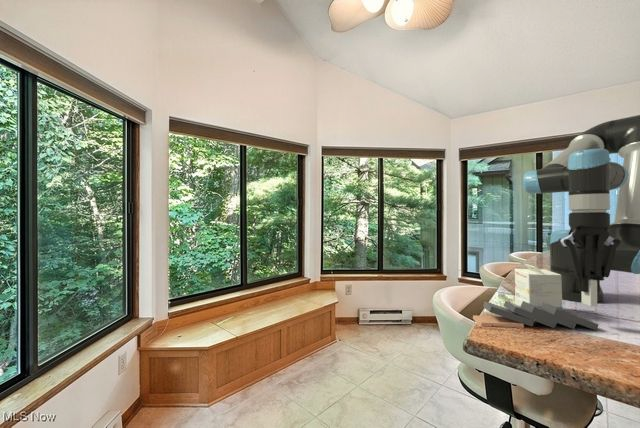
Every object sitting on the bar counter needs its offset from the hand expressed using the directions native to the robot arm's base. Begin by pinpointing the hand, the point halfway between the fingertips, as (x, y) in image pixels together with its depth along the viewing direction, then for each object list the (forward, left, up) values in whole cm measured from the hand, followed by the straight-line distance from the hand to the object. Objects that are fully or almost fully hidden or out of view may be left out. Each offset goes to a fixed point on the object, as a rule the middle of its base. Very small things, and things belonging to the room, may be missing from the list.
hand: (589, 304), depth 70 cm
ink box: (+2, -12, -6) cm, 13 cm away
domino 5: (+1, 0, -5) cm, 5 cm away
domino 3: (+9, -3, -5) cm, 11 cm away
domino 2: (+13, -5, -5) cm, 15 cm away
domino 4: (+5, -2, -5) cm, 7 cm away
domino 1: (+16, -6, -5) cm, 18 cm away
